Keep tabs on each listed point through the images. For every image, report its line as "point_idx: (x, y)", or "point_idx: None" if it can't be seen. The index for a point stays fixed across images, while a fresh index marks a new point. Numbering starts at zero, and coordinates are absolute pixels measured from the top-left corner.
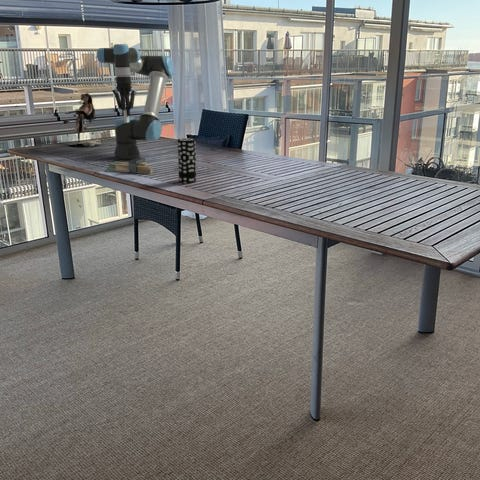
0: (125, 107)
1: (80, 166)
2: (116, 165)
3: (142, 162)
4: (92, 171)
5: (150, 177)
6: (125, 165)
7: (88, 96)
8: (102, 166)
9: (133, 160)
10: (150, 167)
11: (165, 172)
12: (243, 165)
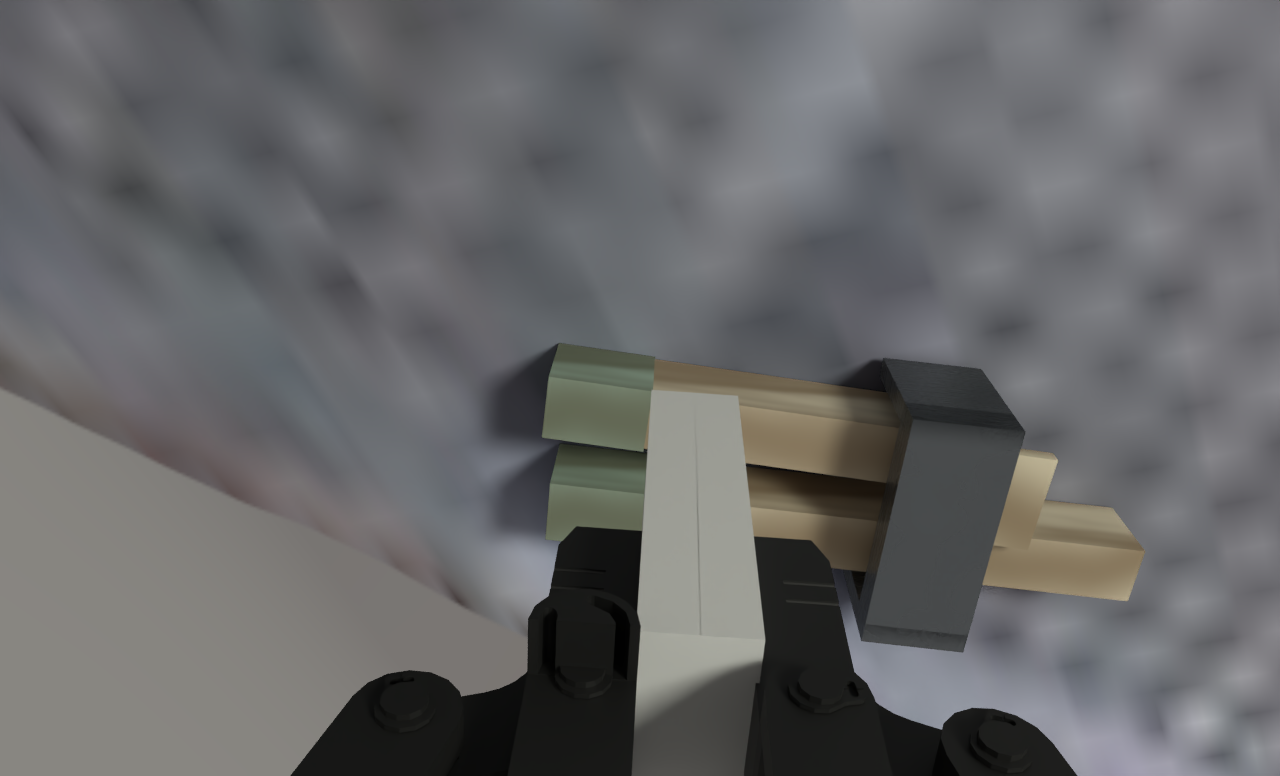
0: (634, 722)
1: (66, 339)
2: None
3: None
4: (390, 560)
5: (1137, 689)
6: None
7: None
8: (330, 275)
9: (918, 608)
10: (1131, 581)
11: (1269, 437)
12: None
